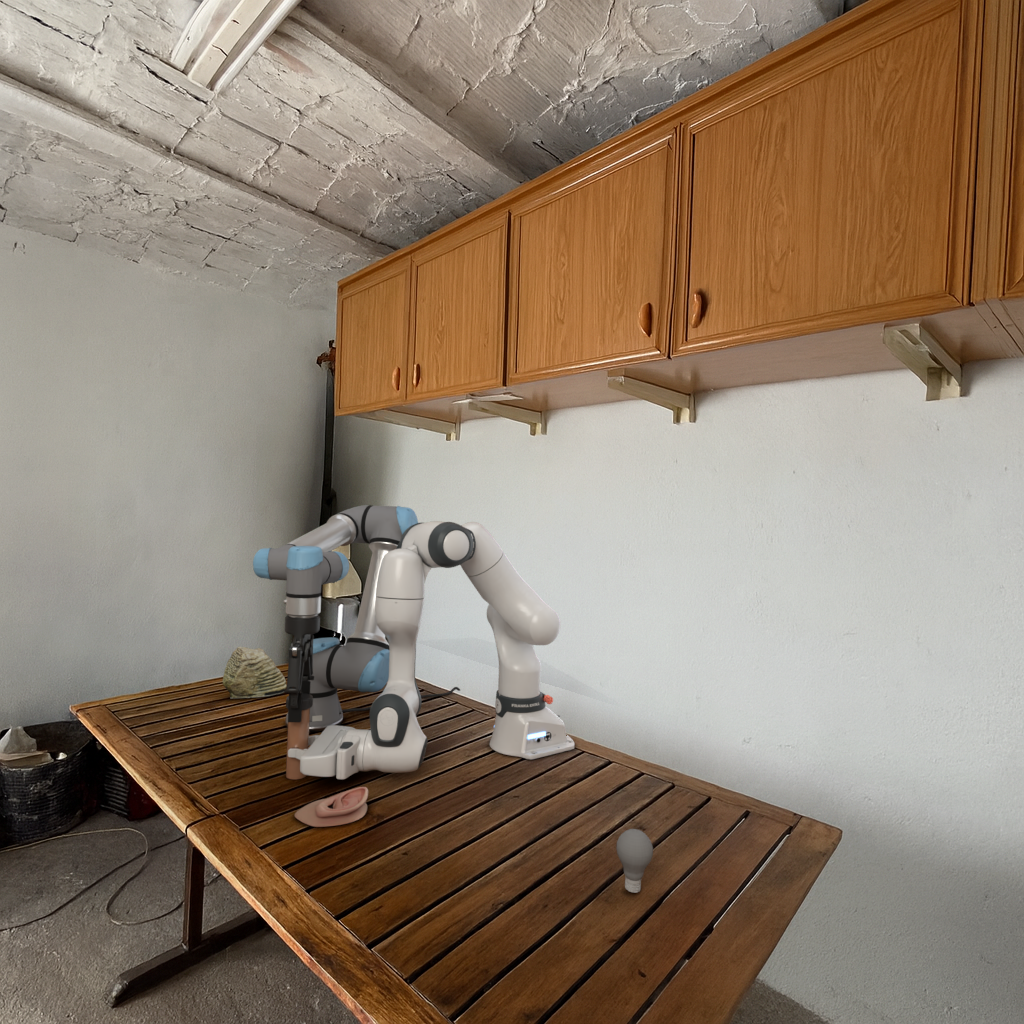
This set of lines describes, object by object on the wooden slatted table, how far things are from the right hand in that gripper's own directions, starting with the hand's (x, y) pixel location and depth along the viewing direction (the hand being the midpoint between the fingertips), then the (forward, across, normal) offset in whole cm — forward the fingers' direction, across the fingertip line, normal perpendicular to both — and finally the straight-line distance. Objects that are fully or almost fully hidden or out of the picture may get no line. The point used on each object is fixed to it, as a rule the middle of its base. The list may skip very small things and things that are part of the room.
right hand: (293, 746), depth 143 cm
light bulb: (-70, +37, +6) cm, 80 cm away
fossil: (+32, -54, +6) cm, 63 cm away
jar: (-1, 0, +6) cm, 6 cm away
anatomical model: (-14, +17, +6) cm, 23 cm away
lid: (-1, 0, -11) cm, 11 cm away
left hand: (-1, 0, -7) cm, 7 cm away
